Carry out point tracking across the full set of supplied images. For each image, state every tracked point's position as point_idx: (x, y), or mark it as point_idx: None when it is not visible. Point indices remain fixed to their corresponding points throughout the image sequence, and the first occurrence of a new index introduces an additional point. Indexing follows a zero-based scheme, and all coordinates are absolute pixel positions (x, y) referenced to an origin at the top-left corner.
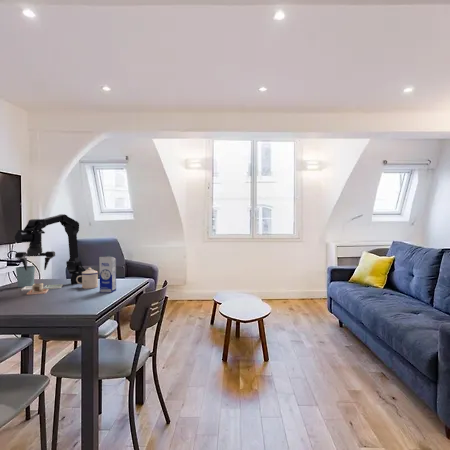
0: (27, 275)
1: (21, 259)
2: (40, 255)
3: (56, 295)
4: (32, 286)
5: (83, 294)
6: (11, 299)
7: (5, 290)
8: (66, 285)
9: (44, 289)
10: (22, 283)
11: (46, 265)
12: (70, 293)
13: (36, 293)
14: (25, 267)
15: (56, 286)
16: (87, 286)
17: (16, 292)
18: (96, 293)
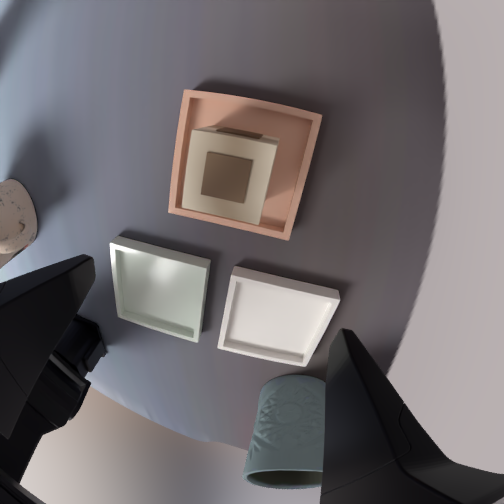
0: (288, 429)
1: (484, 482)
2: (1, 488)
3: (130, 39)
4: (275, 142)
5: (33, 40)
6: (410, 56)
7: (391, 357)
8: (114, 322)
9: (194, 211)
10: (314, 395)
11: (26, 278)
12: (67, 77)
13: (249, 99)
14: (364, 362)
15: (145, 305)
16: (10, 183)
17: (365, 283)
18: (3, 55)
